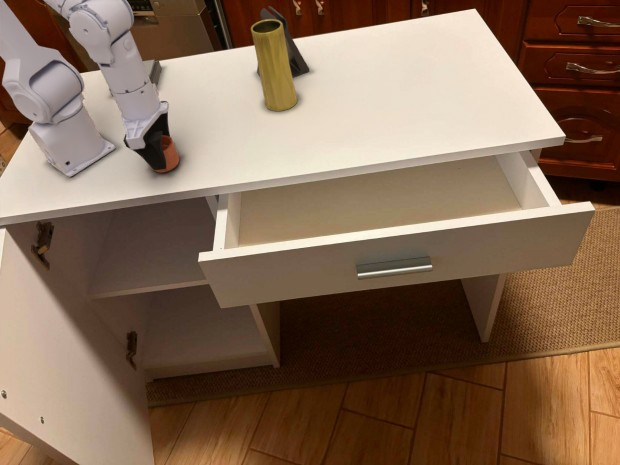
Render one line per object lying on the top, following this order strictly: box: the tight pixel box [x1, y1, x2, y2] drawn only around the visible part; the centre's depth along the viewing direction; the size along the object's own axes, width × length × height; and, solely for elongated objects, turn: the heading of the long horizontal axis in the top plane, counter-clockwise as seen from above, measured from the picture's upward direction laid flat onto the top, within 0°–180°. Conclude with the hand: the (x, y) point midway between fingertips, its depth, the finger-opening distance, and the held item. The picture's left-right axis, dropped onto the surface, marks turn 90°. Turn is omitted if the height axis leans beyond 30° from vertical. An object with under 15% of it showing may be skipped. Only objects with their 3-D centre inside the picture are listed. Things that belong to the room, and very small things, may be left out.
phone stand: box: [256, 5, 310, 79], centre depth 91 cm, size 9×6×12 cm, turn 115°
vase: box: [250, 19, 299, 112], centre depth 83 cm, size 6×6×14 cm
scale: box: [108, 59, 163, 97], centre depth 99 cm, size 9×9×3 cm
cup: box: [148, 135, 181, 173], centre depth 78 cm, size 5×5×4 cm
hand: (162, 157), depth 78 cm, fingers closed on cup, 5 cm apart
